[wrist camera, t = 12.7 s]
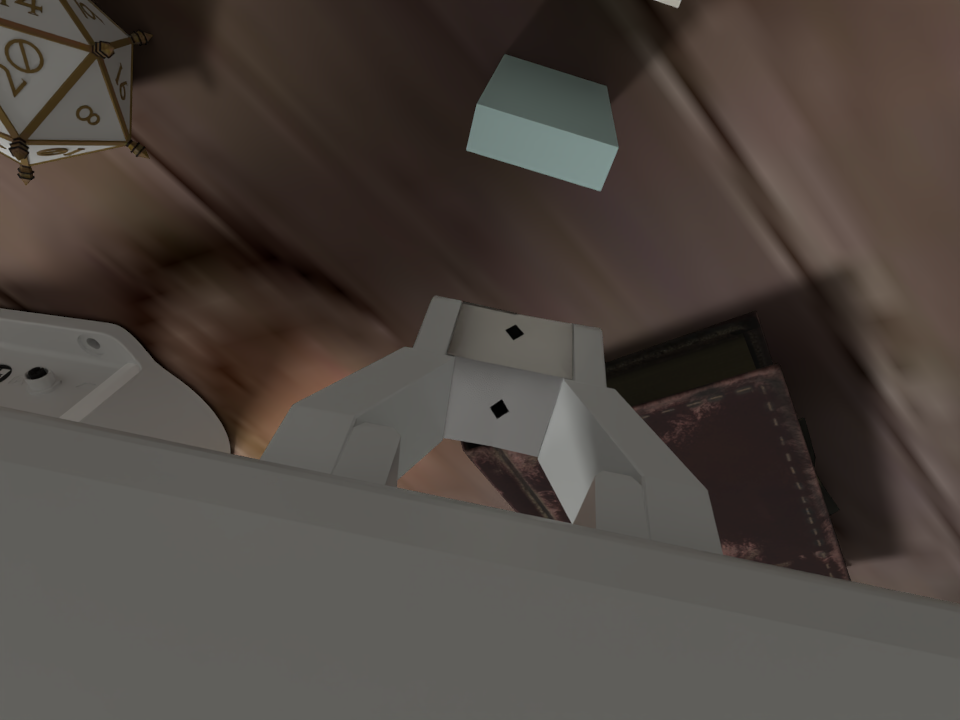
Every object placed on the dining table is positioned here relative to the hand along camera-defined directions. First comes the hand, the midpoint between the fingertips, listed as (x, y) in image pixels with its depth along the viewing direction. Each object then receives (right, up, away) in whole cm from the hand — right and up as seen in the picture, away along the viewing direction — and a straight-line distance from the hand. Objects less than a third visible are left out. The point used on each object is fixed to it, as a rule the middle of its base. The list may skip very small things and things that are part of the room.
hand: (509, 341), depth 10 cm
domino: (+2, +11, +13) cm, 17 cm away
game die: (-18, +14, +14) cm, 27 cm away
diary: (+13, -9, +28) cm, 32 cm away
